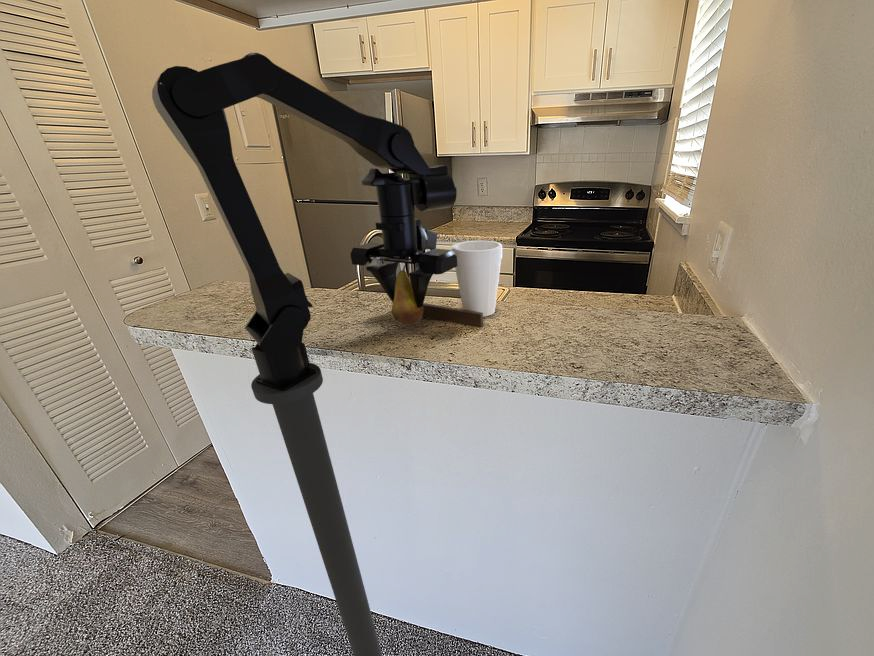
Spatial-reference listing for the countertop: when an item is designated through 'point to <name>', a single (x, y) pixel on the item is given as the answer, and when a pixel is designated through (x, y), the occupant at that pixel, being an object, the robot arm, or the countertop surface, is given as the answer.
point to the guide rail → (453, 314)
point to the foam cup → (478, 274)
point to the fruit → (405, 301)
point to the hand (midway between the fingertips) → (407, 305)
